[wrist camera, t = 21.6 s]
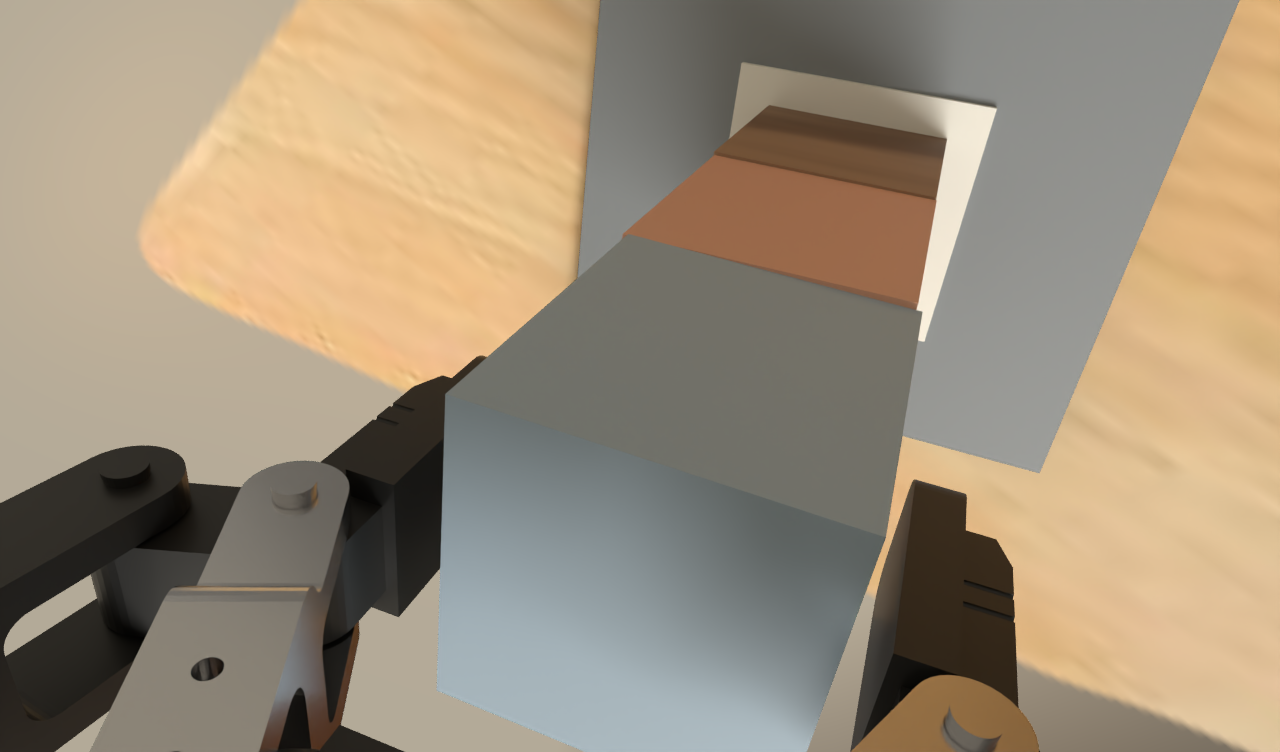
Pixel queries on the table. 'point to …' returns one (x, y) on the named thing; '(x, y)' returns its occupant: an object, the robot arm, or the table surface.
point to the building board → (972, 166)
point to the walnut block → (840, 150)
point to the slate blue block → (670, 503)
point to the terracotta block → (799, 227)
